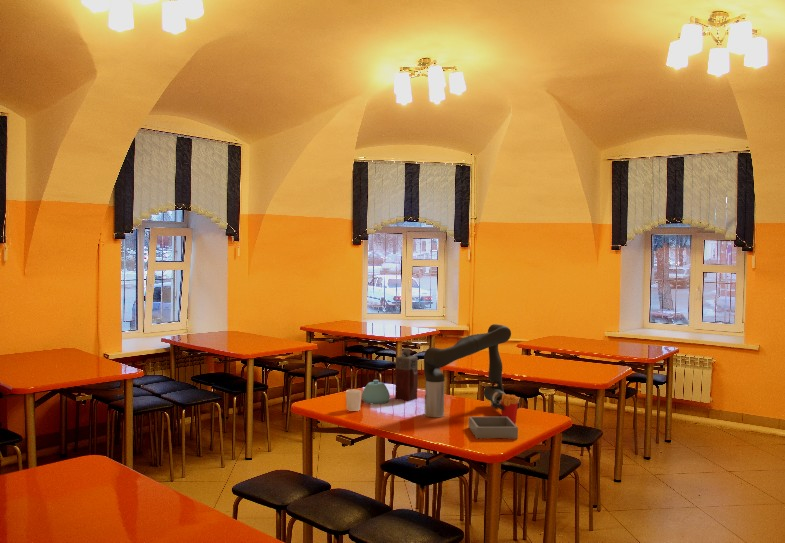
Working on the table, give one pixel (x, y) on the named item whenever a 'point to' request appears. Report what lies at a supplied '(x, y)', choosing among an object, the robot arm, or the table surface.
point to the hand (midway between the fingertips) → (509, 408)
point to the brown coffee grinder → (406, 376)
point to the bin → (493, 427)
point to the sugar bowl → (375, 393)
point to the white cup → (353, 399)
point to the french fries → (509, 407)
